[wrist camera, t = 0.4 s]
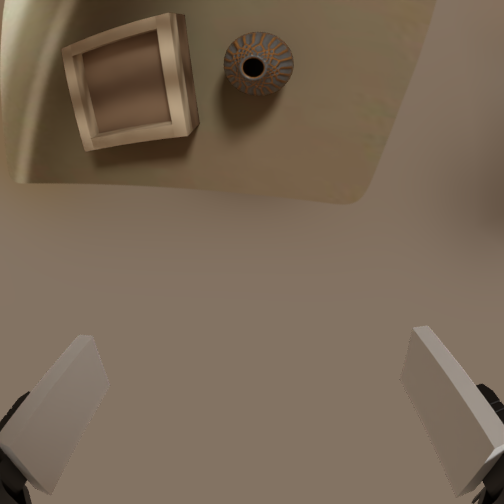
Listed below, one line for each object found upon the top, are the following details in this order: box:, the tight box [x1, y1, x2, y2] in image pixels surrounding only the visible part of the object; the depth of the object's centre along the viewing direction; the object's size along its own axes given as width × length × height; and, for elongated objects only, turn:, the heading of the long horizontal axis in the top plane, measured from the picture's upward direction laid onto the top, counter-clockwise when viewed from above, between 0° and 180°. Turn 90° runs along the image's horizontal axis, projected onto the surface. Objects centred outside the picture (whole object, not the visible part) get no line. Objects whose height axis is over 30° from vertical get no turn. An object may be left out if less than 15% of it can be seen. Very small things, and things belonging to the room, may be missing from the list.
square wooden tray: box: [61, 13, 200, 152], centre depth 30 cm, size 14×14×5 cm
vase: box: [224, 32, 294, 96], centre depth 26 cm, size 7×7×9 cm
